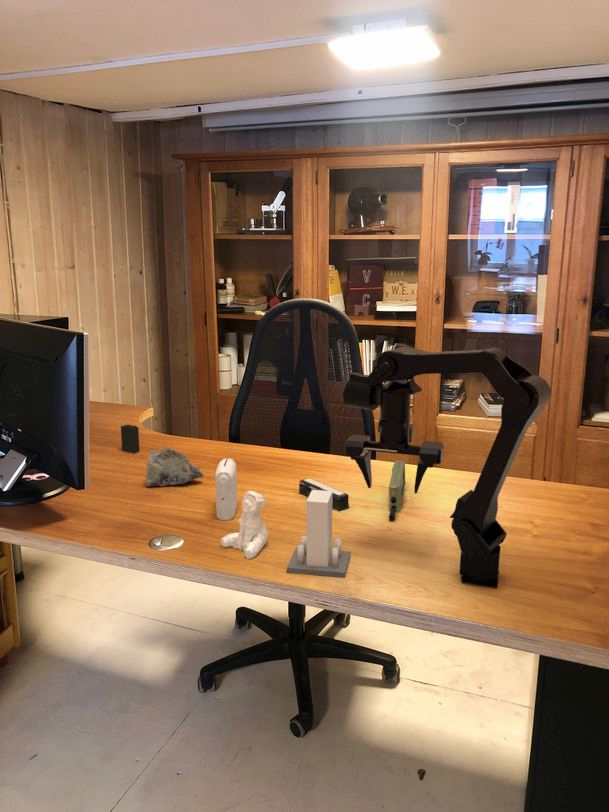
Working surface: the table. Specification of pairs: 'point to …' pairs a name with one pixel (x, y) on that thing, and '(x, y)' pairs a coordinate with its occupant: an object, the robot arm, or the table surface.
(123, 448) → the ink cartridge
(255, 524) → the white creature statuette
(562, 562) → the table surface
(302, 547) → the grey peg board
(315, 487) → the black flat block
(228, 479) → the photo printer
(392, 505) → the handheld radio
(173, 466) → the mineral rock
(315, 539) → the block
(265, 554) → the table surface
